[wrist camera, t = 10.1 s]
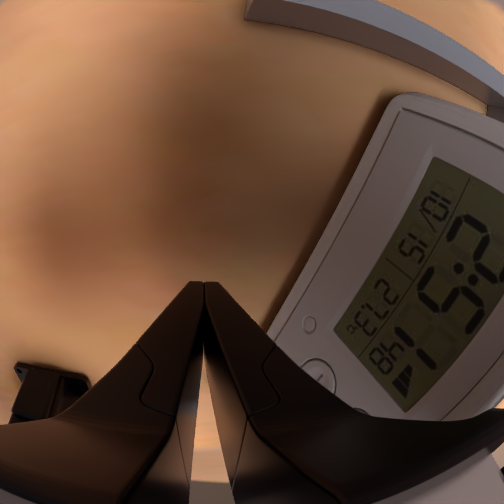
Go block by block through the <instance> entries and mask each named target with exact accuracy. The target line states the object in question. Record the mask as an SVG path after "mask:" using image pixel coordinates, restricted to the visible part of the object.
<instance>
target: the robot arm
mask: <svg viewBox="0 0 504 504" xmlns="http://www.w3.org/2000/svg"><path fill="white" fill-rule="evenodd" d="M203 345H204V359H205V366H206V371H207V377H208V383H209V388H210V394H211V399H212V404H213V409H214V414H215V419H216V424H217V429H218V434H219V438H220V443H221V447H222V452H223V456H224V461H225V465H226V469H227V473H228V478H229V482H230V486H231V489H232V494H233V497H234V501H235V504H504V467H503V468H501V469H500V468H499V466H498V464H497V463H496V461H495V459H494V457H493V456H492V454H491V453H492V452H493V451H495V450H496V449H497V448H498V447H499V446H500V445H501V444H502V443H503V442H504V409H500V408H492V409H488V410H486V411H484V412H483V413H481V414H479V415H477V416H475V417H472V418H468V419H464V420H456V421H425V420H407V419H394V418H383V417H375V416H370V415H367V414H364V413H362V412H359V411H358V410H356V409H354V408H352V407H351V406H349V405H348V404H347V403H345V402H344V401H343V400H341V399H340V398H339V397H337V396H336V395H335V394H333V393H332V392H331V391H329V390H328V389H327V388H325V387H324V386H323V385H321V384H320V383H319V382H318V381H316V380H315V379H314V378H313V377H311V376H310V375H309V374H308V373H306V372H305V371H304V370H303V369H302V368H300V367H299V366H298V365H297V364H296V363H295V362H294V361H293V360H292V359H291V358H290V357H289V356H288V355H287V354H286V353H285V352H284V351H283V350H282V349H281V348H280V347H279V346H277V344H276V343H275V342H274V341H273V340H272V339H271V338H270V337H269V336H268V335H267V334H266V333H265V332H264V331H263V330H262V329H261V328H260V326H259V325H258V324H257V323H256V322H255V321H254V320H253V319H252V318H251V317H250V316H249V315H248V314H247V313H246V312H245V310H244V309H243V308H242V307H241V306H240V305H239V304H238V303H237V302H236V301H235V300H234V299H233V297H232V296H231V295H230V294H229V293H228V292H227V291H226V290H225V289H224V288H223V287H222V285H221V284H220V283H219V282H205V283H203V282H202V281H189V282H188V283H187V284H186V286H185V287H184V288H183V289H182V290H181V291H180V292H179V294H178V295H177V296H176V297H175V298H174V299H173V300H172V302H171V303H170V304H169V305H168V306H167V307H166V308H165V310H164V311H163V312H162V313H161V314H160V315H159V316H158V318H157V319H156V320H155V321H154V322H153V323H152V325H151V326H150V327H149V328H148V329H147V330H146V331H145V333H144V334H143V335H142V336H141V337H140V338H139V340H138V341H137V342H136V344H134V345H133V346H132V348H131V349H130V350H129V351H128V352H127V353H126V355H125V356H124V357H123V358H122V359H121V360H120V361H119V362H118V363H117V364H116V365H115V366H114V367H113V368H112V369H111V370H110V371H109V372H108V373H107V374H106V375H105V376H104V377H103V378H102V379H101V380H99V381H98V382H97V383H96V384H95V385H94V386H93V387H92V388H91V386H90V383H89V381H88V379H87V378H86V377H85V376H83V375H79V374H73V373H67V372H61V371H55V370H50V369H45V368H40V367H35V366H30V365H26V364H22V363H16V364H15V366H14V370H15V372H16V373H17V375H18V377H19V379H20V380H21V382H22V385H21V387H20V389H19V392H18V394H17V397H16V399H15V402H14V404H13V407H12V415H11V418H10V421H9V424H5V425H0V504H189V497H190V482H191V471H192V459H193V448H194V437H195V427H196V417H197V407H198V398H199V389H200V380H201V372H202V363H203Z"/></svg>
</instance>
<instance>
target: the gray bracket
mask: <svg viewBox="0 0 504 504" xmlns="http://www.w3.org/2000/svg"><path fill="white" fill-rule="evenodd" d="M244 20H252V21H260V22H266V23H273V24H278V25H284V26H289V27H294V28H299V29H304V30H308V31H312V32H317V33H321V34H325V35H328V36H332V37H336V38H339V39H343V40H346V41H349V42H353V43H356V44H359V45H362V46H365V47H368V48H371V49H374V50H376V51H379V52H382V53H384V54H387V55H390V56H392V57H395V58H397V59H400V60H402V61H405V62H407V63H409V64H412V65H414V66H416V67H418V68H420V69H423V70H425V71H427V72H429V73H431V74H433V75H435V76H437V77H439V78H441V79H443V80H445V81H447V82H449V83H451V84H453V85H455V86H456V87H458V88H460V89H462V90H464V91H465V92H467V93H469V94H470V95H472V96H474V97H476V98H477V99H479V100H480V101H482V102H484V103H485V104H487V105H488V109H487V116H488V117H490V118H493V119H495V120H497V121H500V122H502V123H504V75H503V74H501V73H500V72H499V71H498V70H496V69H495V68H494V67H492V66H491V65H490V64H488V63H487V62H486V61H484V60H483V59H482V58H480V57H479V56H477V55H476V54H475V53H473V52H472V51H470V50H469V49H467V48H466V47H464V46H463V45H461V44H459V43H458V42H456V41H455V40H453V39H451V38H450V37H448V36H446V35H445V34H443V33H441V32H440V31H438V30H436V29H434V28H433V27H431V26H429V25H427V24H425V23H423V22H421V21H419V20H418V19H416V18H414V17H412V16H409V15H407V14H405V13H403V12H401V11H399V10H397V9H395V8H392V7H390V6H388V5H385V4H383V3H381V2H378V1H376V0H247V5H246V12H245V19H244Z"/></svg>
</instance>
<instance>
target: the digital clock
mask: <svg viewBox="0 0 504 504" xmlns="http://www.w3.org/2000/svg"><path fill="white" fill-rule="evenodd" d="M266 334H267V335H268V336H269V337H270V338H271V339H272V340H273V341H274V342H275V343H276V344H277V346H279V347H280V348H281V349H282V350H283V351H284V352H285V353H286V354H287V355H288V356H289V357H290V358H291V359H292V360H293V361H294V362H295V363H296V364H297V365H298V366H299V367H300V368H302V369H303V370H304V371H305V372H306V373H308V374H309V375H310V376H311V377H313V378H314V379H315V380H316V381H318V382H319V383H320V384H321V385H323V386H324V387H325V388H327V389H328V390H329V391H331V392H332V393H333V394H335V395H336V396H337V397H339V398H340V399H341V400H343V401H344V402H345V403H347V404H348V405H349V406H351V407H352V408H354V409H356V410H358V411H359V412H362V413H364V414H367V415H370V416H375V417H383V418H394V419H407V420H425V421H456V420H464V419H468V418H472V417H475V416H477V415H479V414H481V413H483V412H484V411H486V410H488V409H492V408H495V407H496V406H497V405H498V404H499V403H500V402H501V401H502V400H503V399H504V123H502V122H500V121H497V120H495V119H493V118H490V117H488V116H486V115H483V114H481V113H478V112H476V111H473V110H470V109H468V108H465V107H462V106H459V105H457V104H454V103H451V102H448V101H445V100H442V99H439V98H435V97H432V96H429V95H425V94H421V93H417V92H406V93H403V94H400V95H397V96H396V97H394V98H393V99H392V100H391V101H390V103H389V104H388V106H387V108H386V110H385V112H384V114H383V116H382V118H381V120H380V122H379V124H378V126H377V128H376V130H375V132H374V134H373V136H372V138H371V140H370V142H369V144H368V146H367V148H366V150H365V152H364V154H363V157H362V159H361V161H360V163H359V165H358V167H357V169H356V171H355V173H354V175H353V177H352V179H351V181H350V183H349V185H348V187H347V189H346V191H345V192H344V194H343V196H342V198H341V200H340V202H339V204H338V206H337V208H336V210H335V212H334V214H333V216H332V217H331V219H330V221H329V223H328V225H327V227H326V229H325V231H324V232H323V234H322V236H321V238H320V240H319V242H318V243H317V245H316V247H315V249H314V251H313V253H312V254H311V256H310V258H309V260H308V262H307V263H306V265H305V267H304V269H303V271H302V272H301V274H300V276H299V278H298V279H297V281H296V283H295V285H294V286H293V288H292V290H291V292H290V293H289V295H288V297H287V298H286V300H285V302H284V304H283V305H282V307H281V309H280V311H279V312H278V314H277V316H276V317H275V319H274V321H273V323H272V324H271V326H270V328H269V330H268V332H267V333H266Z"/></svg>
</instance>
